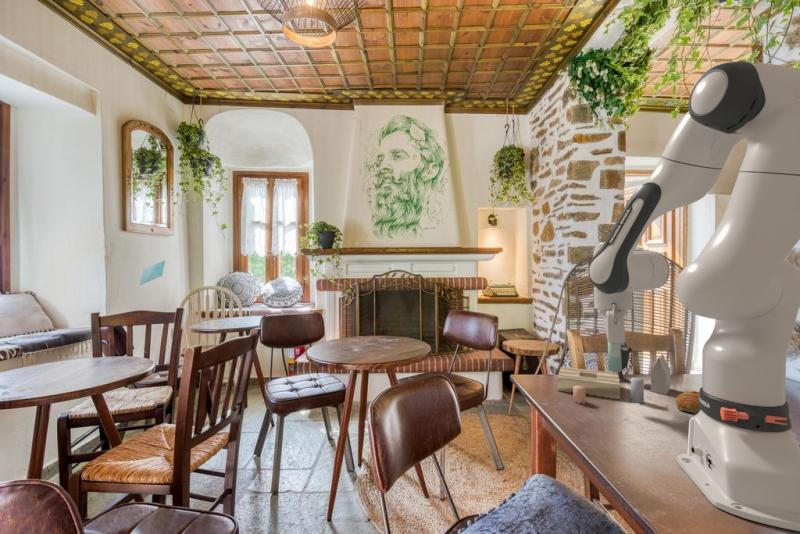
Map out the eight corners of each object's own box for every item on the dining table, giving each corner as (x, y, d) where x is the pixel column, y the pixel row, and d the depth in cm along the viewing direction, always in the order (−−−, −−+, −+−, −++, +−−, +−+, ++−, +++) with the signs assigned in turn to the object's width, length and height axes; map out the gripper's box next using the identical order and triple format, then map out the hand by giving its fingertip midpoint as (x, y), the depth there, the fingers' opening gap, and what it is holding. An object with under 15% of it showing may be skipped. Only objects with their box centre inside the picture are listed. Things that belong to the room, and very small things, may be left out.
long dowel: (622, 372, 98) (621, 340, 98) (608, 371, 100) (607, 340, 100) (621, 369, 101) (620, 339, 101) (608, 368, 102) (607, 338, 102)
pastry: (703, 418, 93) (703, 402, 93) (670, 410, 98) (670, 395, 98) (711, 407, 100) (711, 393, 100) (679, 401, 105) (679, 387, 105)
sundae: (625, 376, 125) (625, 331, 125) (636, 383, 119) (636, 335, 118) (604, 376, 126) (604, 330, 126) (614, 383, 119) (613, 335, 119)
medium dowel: (644, 404, 102) (644, 381, 102) (631, 402, 103) (631, 380, 103) (643, 400, 105) (643, 378, 105) (630, 398, 106) (630, 377, 106)
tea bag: (670, 388, 114) (670, 355, 114) (666, 394, 109) (666, 359, 109) (655, 386, 116) (655, 353, 116) (650, 392, 111) (650, 357, 111)
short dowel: (585, 404, 102) (585, 389, 102) (573, 403, 103) (573, 388, 103) (585, 401, 105) (585, 386, 105) (573, 399, 106) (573, 385, 106)
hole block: (620, 399, 106) (620, 384, 106) (557, 390, 113) (557, 377, 113) (617, 386, 117) (617, 372, 116) (560, 379, 124) (560, 366, 124)
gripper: (630, 305, 90) (632, 364, 90) (623, 299, 108) (625, 348, 108) (600, 305, 93) (602, 362, 92) (598, 299, 111) (600, 347, 111)
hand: (614, 355), depth 100 cm, fingers closed on long dowel, 3 cm apart
